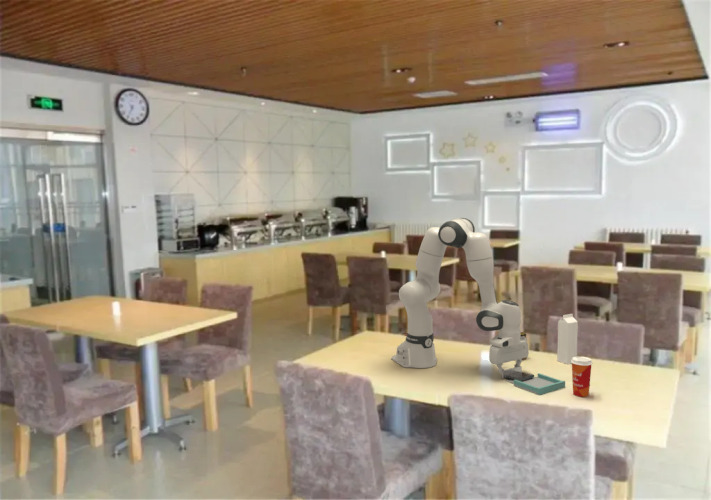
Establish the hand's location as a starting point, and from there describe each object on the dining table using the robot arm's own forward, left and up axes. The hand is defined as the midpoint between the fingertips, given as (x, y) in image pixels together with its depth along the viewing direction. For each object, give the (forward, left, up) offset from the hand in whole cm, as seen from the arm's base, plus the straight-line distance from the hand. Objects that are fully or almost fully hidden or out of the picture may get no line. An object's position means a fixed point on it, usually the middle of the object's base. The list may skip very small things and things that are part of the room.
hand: (509, 370), depth 247 cm
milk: (+1, +36, -2) cm, 36 cm away
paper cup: (+31, +6, -2) cm, 32 cm away
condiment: (-15, +22, -2) cm, 27 cm away
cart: (+6, 0, -2) cm, 6 cm away
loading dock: (+13, 0, -3) cm, 13 cm away
